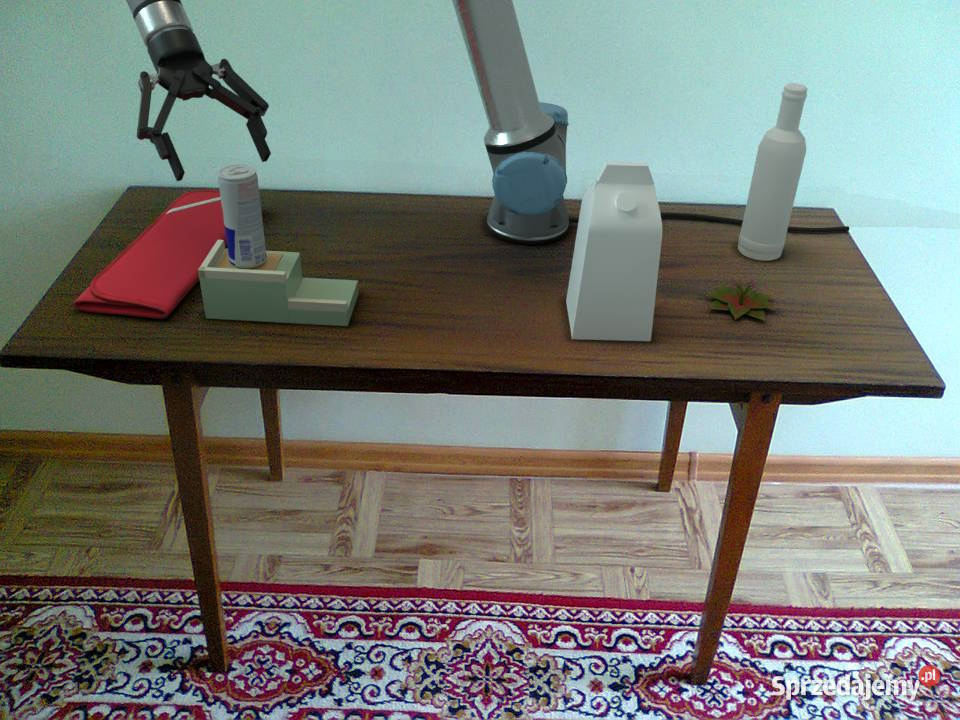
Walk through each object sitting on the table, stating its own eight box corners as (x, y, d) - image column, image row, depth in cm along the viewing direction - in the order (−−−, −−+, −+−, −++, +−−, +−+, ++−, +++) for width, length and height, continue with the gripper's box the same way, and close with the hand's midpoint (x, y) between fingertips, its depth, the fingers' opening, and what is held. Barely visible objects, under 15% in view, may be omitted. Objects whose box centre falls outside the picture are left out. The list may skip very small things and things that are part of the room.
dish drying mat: (72, 311, 141) (67, 290, 139) (183, 203, 175) (180, 185, 173) (169, 322, 139) (165, 301, 137) (262, 210, 173) (260, 192, 171)
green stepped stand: (358, 293, 148) (356, 246, 144) (347, 326, 140) (344, 277, 135) (224, 286, 149) (217, 239, 144) (205, 318, 141) (197, 269, 136)
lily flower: (782, 296, 152) (788, 272, 149) (772, 331, 143) (779, 306, 140) (709, 281, 155) (714, 257, 153) (696, 314, 146) (700, 289, 144)
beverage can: (271, 255, 143) (261, 164, 135) (260, 271, 139) (250, 179, 130) (236, 252, 144) (224, 161, 135) (224, 269, 139) (211, 176, 131)
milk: (639, 302, 149) (662, 149, 134) (650, 341, 139) (676, 181, 125) (566, 300, 148) (580, 147, 134) (572, 339, 139) (588, 178, 124)
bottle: (736, 258, 163) (771, 90, 146) (736, 238, 169) (770, 76, 152) (782, 264, 161) (823, 95, 145) (781, 244, 168) (820, 81, 151)
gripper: (242, 42, 148) (293, 161, 146) (84, 66, 135) (139, 196, 133) (252, 15, 141) (306, 139, 140) (88, 38, 128) (145, 174, 127)
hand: (225, 167), depth 137 cm, fingers open, 13 cm apart
